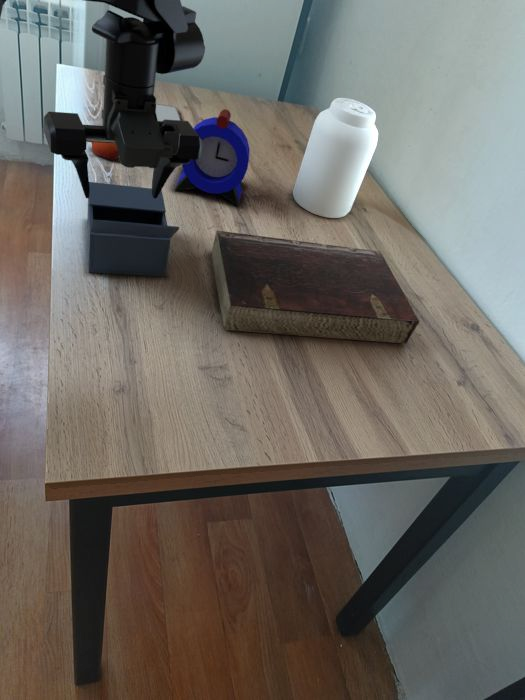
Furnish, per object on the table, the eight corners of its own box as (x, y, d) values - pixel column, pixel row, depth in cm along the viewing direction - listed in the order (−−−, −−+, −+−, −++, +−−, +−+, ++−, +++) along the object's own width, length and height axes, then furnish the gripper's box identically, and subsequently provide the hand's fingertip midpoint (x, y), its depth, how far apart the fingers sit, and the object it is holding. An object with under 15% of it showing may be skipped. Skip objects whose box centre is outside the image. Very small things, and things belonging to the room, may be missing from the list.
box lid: (170, 236, 76) (170, 238, 76) (90, 229, 73) (90, 231, 73) (179, 226, 70) (179, 229, 70) (92, 219, 67) (92, 221, 67)
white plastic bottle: (346, 195, 117) (382, 102, 103) (352, 225, 107) (392, 127, 94) (291, 181, 115) (320, 85, 101) (291, 211, 106) (324, 108, 92)
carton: (165, 276, 81) (171, 236, 76) (88, 272, 77) (89, 229, 73) (156, 228, 90) (161, 189, 85) (87, 222, 86) (88, 181, 81)
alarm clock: (173, 192, 99) (185, 111, 89) (184, 164, 108) (196, 87, 98) (238, 208, 101) (257, 130, 91) (243, 179, 110) (261, 105, 100)
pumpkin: (132, 135, 108) (132, 118, 101) (136, 169, 108) (137, 155, 101) (91, 136, 106) (88, 119, 99) (95, 170, 106) (92, 156, 99)
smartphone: (177, 107, 126) (186, 135, 116) (176, 109, 127) (185, 138, 117) (145, 101, 124) (151, 130, 114) (144, 104, 124) (151, 133, 114)
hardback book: (369, 271, 97) (380, 248, 93) (405, 345, 84) (419, 321, 80) (211, 253, 88) (216, 227, 85) (223, 331, 76) (230, 304, 72)
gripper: (58, 101, 54) (60, 232, 65) (227, 114, 62) (205, 228, 73) (40, 58, 61) (44, 184, 71) (196, 75, 69) (179, 185, 80)
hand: (121, 196), depth 73 cm, fingers open, 9 cm apart
